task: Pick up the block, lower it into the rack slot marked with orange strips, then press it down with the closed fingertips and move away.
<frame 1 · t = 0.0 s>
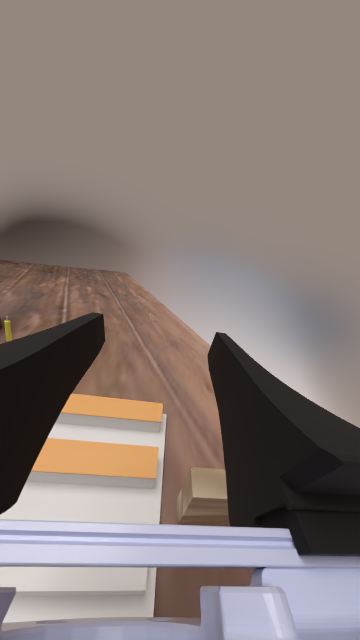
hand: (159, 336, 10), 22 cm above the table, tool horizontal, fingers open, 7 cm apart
block: (210, 513, 18), on the table
rack: (76, 508, 16), on the table
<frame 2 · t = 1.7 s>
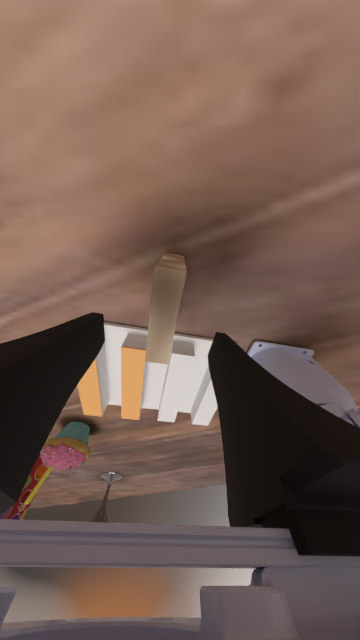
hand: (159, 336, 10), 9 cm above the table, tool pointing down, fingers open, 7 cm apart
cupcake: (79, 425, 34), on the table
block: (169, 289, 18), on the table
wine glass: (112, 475, 49), on the table
smoothie: (40, 456, 42), on the table
rack: (155, 374, 25), on the table
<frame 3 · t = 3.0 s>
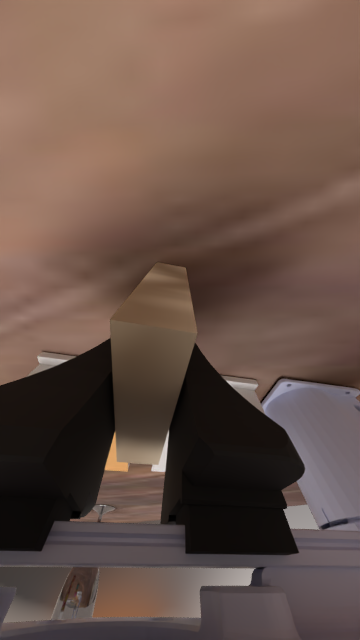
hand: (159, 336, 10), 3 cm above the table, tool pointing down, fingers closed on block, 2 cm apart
block: (163, 315, 12), on the table, touching gripper
wine glass: (103, 506, 44), on the table
rack: (148, 415, 20), on the table
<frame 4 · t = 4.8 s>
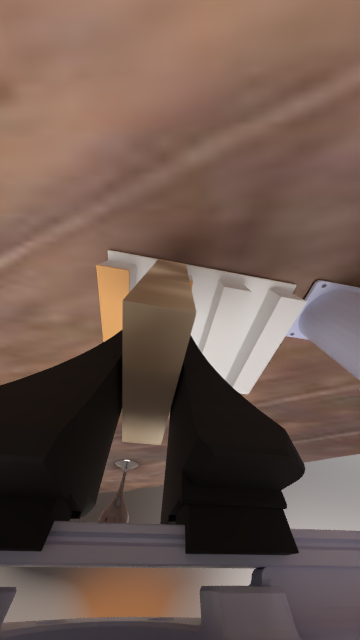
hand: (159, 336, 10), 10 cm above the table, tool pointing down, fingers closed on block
block: (164, 309, 13), point 6 cm above the table, touching gripper
wine glass: (127, 463, 46), on the table
rack: (190, 331, 22), on the table
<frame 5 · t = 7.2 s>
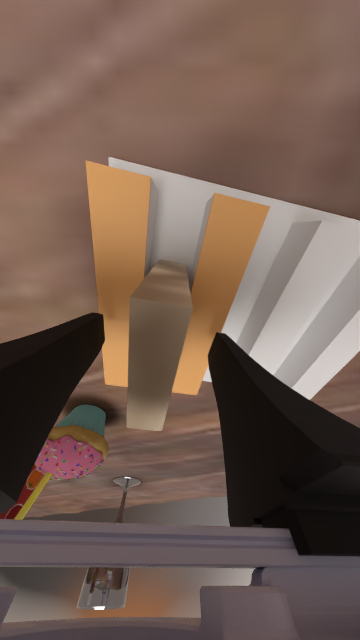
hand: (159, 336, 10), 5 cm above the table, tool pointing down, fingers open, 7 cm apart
cupcake: (91, 411, 23), on the table
block: (165, 307, 14), point 1 cm above the table, touching rack
wine glass: (127, 480, 39), on the table
smoothie: (35, 455, 31), on the table
rack: (228, 315, 15), on the table
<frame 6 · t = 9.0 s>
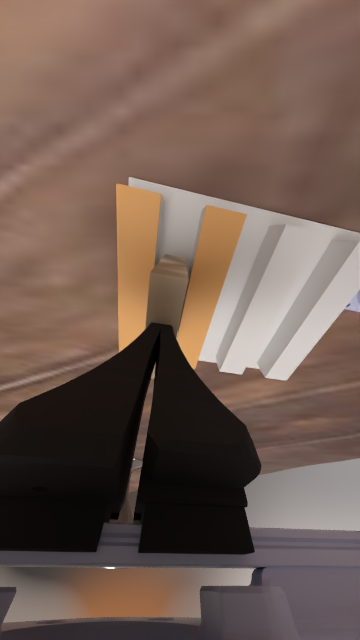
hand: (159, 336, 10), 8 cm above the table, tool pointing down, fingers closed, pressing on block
block: (169, 294, 17), point 1 cm above the table, touching gripper, rack
wine glass: (132, 462, 42), on the table
rack: (221, 301, 18), on the table
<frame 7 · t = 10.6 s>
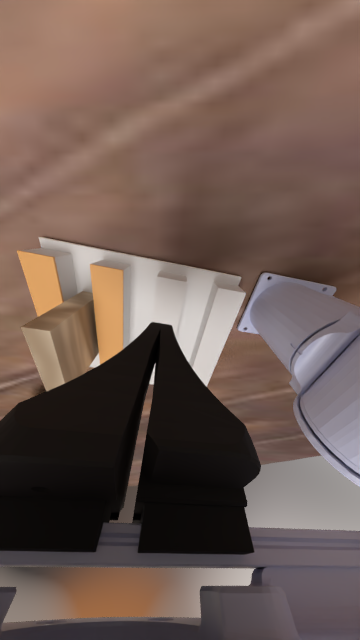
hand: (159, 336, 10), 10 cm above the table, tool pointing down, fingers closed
block: (94, 320, 20), point 1 cm above the table, touching rack
rack: (142, 325, 21), on the table
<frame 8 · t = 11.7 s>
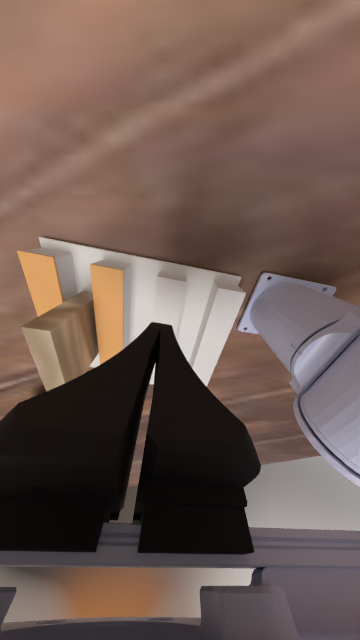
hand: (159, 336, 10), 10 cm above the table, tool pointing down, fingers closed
block: (94, 320, 20), point 1 cm above the table, touching rack
rack: (142, 325, 21), on the table
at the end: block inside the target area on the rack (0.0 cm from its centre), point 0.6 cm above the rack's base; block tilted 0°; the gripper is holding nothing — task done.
